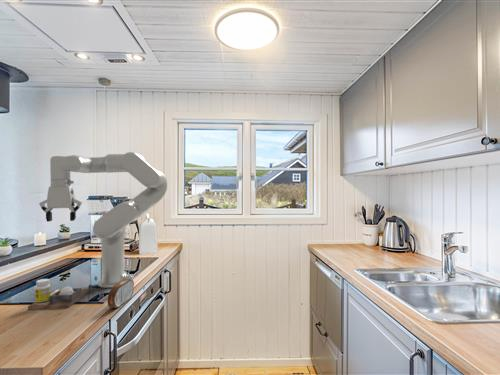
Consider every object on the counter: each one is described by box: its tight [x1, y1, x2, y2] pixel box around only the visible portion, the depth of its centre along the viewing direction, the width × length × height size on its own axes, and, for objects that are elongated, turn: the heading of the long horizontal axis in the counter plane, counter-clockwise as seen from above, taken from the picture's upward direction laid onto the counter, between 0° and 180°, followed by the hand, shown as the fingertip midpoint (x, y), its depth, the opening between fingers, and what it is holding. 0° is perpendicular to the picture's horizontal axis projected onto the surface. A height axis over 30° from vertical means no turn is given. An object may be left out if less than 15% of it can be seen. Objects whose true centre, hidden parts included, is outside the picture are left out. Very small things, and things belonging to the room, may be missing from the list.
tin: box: [107, 279, 135, 309], centre depth 109 cm, size 15×3×8 cm, turn 175°
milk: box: [137, 213, 159, 255], centre depth 197 cm, size 12×12×26 cm
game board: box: [27, 287, 91, 311], centre depth 113 cm, size 14×17×4 cm
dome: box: [59, 286, 74, 295], centre depth 112 cm, size 5×5×4 cm
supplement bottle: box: [34, 278, 52, 305], centre depth 107 cm, size 5×5×8 cm
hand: (61, 220), depth 130 cm, fingers open, 9 cm apart
